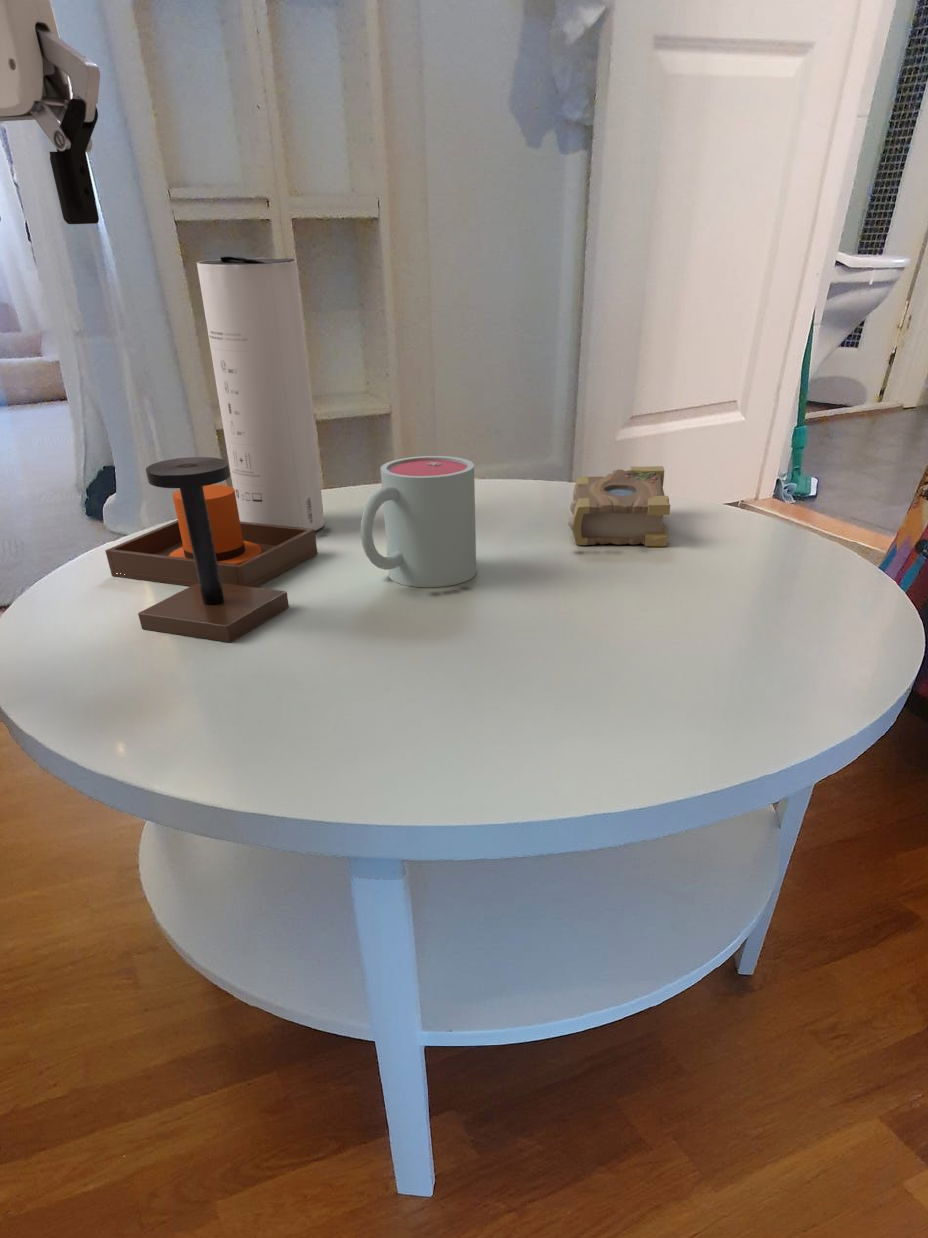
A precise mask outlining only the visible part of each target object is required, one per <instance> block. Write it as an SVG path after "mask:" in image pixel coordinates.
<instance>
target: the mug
mask: <svg viewBox="0 0 928 1238" xmlns="http://www.w3.org/2000/svg"><path fill="white" fill-rule="evenodd" d="M380 478H381V479H380V480H381V481H380V482H381V488H380V489H378V490H376V491H375V492H374V493H373V494H372V495H371V496H370V497H369V499H368V501H367V502H366V504H365V505H364V506H365V507H364V509H363V512H362V515H361V521H360V540H361V544H362V549H363V551H364V553H365V556H366V558H367V559H368V560H369V561H370V563H371V564H373V565H374V566H375V567H377V568H378V569H380V570H385V571H387V572H388V577H389V579H390V580H391V581H393V582H395V583H397V584H400V585H404V586H406V587H413V588H414V587H415V588H442V587H449V586H450V587H451V586H455V585H459V584H463V583H465V582H468V581H470V580H472V579H473V578H474V577H476V574H477V544H476V543H477V540H476V539H477V537H476V495H475V493H476V492H475V491H476V490H475V489H476V487H475V464H474V462H473V461H471V460H470V459H467V458H461V457H456V456H448V455H447V456H446V455H421V456H411V457H404V458H398V459H395V460H391V461H388V462H386V463H384V464H382V465H381V466H380ZM381 506H383V517H384V519H383V520H384V532H385V543H386V545H385V546H386V556H384V555H382V554H380V553H379V551H378V550H377V548H376V546H375V543H374V538H373V537H374V536H373V527H374V520H375V517H376V515H377V512H378V510H379V509H380V507H381Z"/></svg>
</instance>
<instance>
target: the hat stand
mask: <svg viewBox="0 0 928 1238" xmlns="http://www.w3.org/2000/svg"><path fill="white" fill-rule="evenodd" d="M145 473H146V477H147V481H148V484H149V485H151V486H153V487H157V488H161V489H162V488H163V489H179V490H180V493H181V498H182V502H183V507H184V512H185V517H186V522H187V527H188V532H189V537H190V541H191V546H192V551H193V556H194V561H195V566H196V571H197V576H198V580H199V582H198V583H196V584H195V585H193V586H188V587H187V588H185V589H182V590H181V591H179V592H176V593H175V594H173V595H171V596H168V597H167V598H165V599H162V600H161V601H159V602H157V603H155V604H153V605H151V606H149V607H147V608H146V609H143V610H141V611H138V613H137V615H138V619H139V622H140V626H141V629H142V630H146V631H154V632H160V633H166V634H173V635H179V636H186V637H193V638H198V639H199V638H200V639H204V640H212V641H217V642H226V643H232V642H233V641H235V640H236V639H238V638H240V637H241V636H243V635H245V634H246V633H248V632H250V631H251V630H253V629H254V628H256V627H258V626H260V625H261V624H264V623H265V622H266V621H268V620H269V619H271V618H273V617H274V616H277V615H278V614H279V613H281V612H283V611H285V610H286V609H288V608H289V607H290V604H289V598H288V592H287V591H286V590H279V589H271V588H263V587H248V586H241V585H233V584H225V583H221V580H220V574H219V569H218V564H217V559H216V553H215V548H214V543H213V538H212V532H211V527H210V522H209V516H208V511H207V506H206V501H205V495H204V490H203V486H207V485H217V484H218V483H219V484H220V483H222V482H224V481H226V480H228V479H229V478H230V477H231V472H230V466H229V462H228V461H227V460H225V459H222V458H218V457H211V456H190V457H178V458H172V459H171V458H170V459H165V460H162V461H161V460H160V461H157V462H154V463H152V464H150V465H148V466H147V467H146V468H145Z"/></svg>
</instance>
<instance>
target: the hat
mask: <svg viewBox="0 0 928 1238" xmlns="http://www.w3.org/2000/svg"><path fill="white" fill-rule="evenodd" d="M203 490H204V495H205V501H206V506H207V511H208V516H209V522H210V527H211V532H212V538H213V543H214V548H215V553H216V559H217V562H222V563H230V564H239V565H240V564H242V563H244V562H246V561H248V560H250V559H252V558H254V557H256V556H257V555H259V554H261V553H262V549H261V547H260V546H259V545H257V544H255V543H252V542H248V541H243V536H242V530H241V524H240V519H239V513H238V507H237V501H236V495H235V490H234V488H233V486H229V485H225V484H212V485H207V486H203ZM172 500H173V504H174V510H175V515H176V519H177V520H178V524H179V529H180V533H181V538H182V543H183V547H181V548H178V549H176V550H174V551H173V552H172V553H170V555H169V556H172V557H180V558H189V559H194V556H193V551H192V546H191V541H190V537H189V532H188V527H187V522H186V517H185V512H184V507H183V502H182V498H181V493H180V489H178V490H176V491H174V492H173V493H172Z"/></svg>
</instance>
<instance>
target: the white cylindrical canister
mask: <svg viewBox="0 0 928 1238" xmlns="http://www.w3.org/2000/svg"><path fill="white" fill-rule="evenodd" d="M196 268H197V273H198V280H199V286H200V292H201V299H202V305H203V310H204V315H205V316H204V318H205V322H206V330H207V334H208V341H209V347H210V354H211V360H212V366H213V373H214V381H215V385H216V391H217V398H218V404H219V411H220V417H221V422H222V429H223V435H224V441H225V447H226V453H227V460H228V467H229V472H230V478H231V483H232V488H234V490H235V495H236V501H237V507H238V513H239V519H240V521H241V522H251V523H261V524H271V525H280V526H290V527H300V528H309V529H314V530H315V532H318V531H320V530H321V529H322V528H323V527H324V525H325V513H324V505H323V504H324V503H323V496H322V494H323V493H322V485H321V477H320V467H319V458H318V449H317V438H316V429H315V421H314V420H315V419H314V411H313V403H312V392H311V384H310V375H309V365H308V357H307V356H308V355H307V348H306V347H307V346H306V338H305V337H306V336H305V329H304V320H303V318H304V317H303V310H302V301H301V300H302V299H301V291H300V284H299V275H298V274H299V273H298V267H297V259H295V258H291V257H290V258H289V257H288V258H283V257H282V258H279V257H249V258H248V257H247V258H246V257H240V256H236V255H235V256H234V255H221V256H220V259H208V260H200V261H197V262H196Z"/></svg>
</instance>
